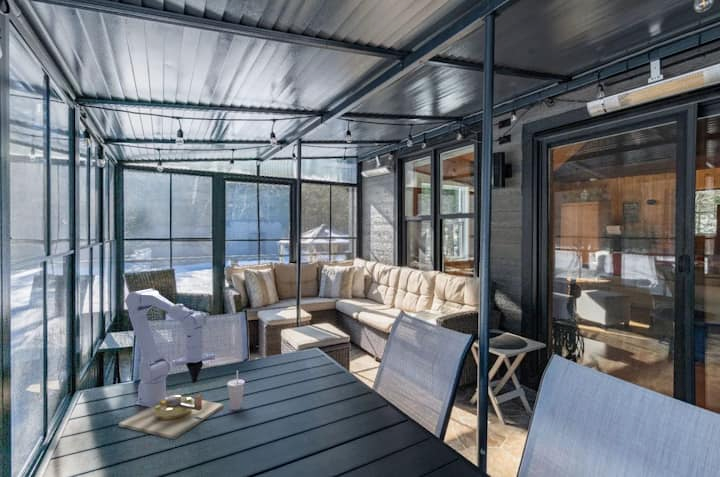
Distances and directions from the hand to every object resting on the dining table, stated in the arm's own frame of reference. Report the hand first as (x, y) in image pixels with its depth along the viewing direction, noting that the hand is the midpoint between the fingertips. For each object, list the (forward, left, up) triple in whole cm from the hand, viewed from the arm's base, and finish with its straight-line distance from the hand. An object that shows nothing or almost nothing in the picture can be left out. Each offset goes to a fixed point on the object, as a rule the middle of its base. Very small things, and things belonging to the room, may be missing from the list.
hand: (194, 381), depth 145 cm
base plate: (-3, -7, -10) cm, 13 cm away
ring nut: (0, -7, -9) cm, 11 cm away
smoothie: (+14, +6, -11) cm, 19 cm away
